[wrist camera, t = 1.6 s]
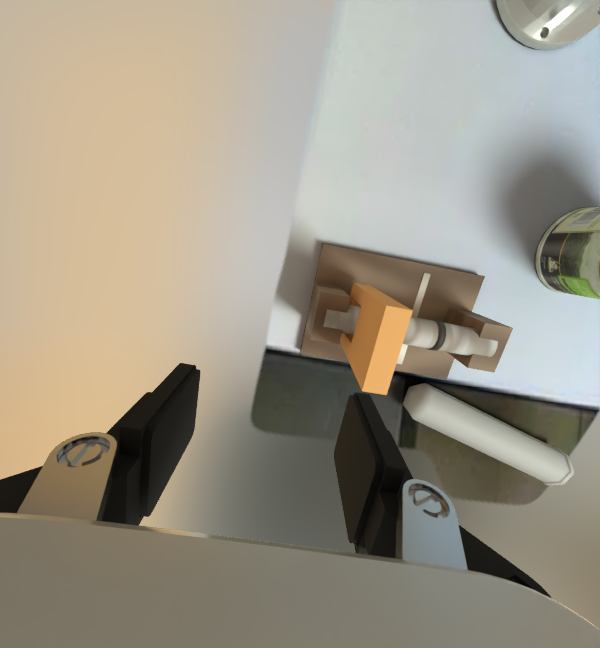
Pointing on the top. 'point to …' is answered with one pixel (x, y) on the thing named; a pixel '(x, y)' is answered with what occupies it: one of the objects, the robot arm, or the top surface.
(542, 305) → the top surface
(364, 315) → the orange flat block
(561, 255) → the coffee can
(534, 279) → the top surface
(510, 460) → the tube
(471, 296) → the pipe stand
